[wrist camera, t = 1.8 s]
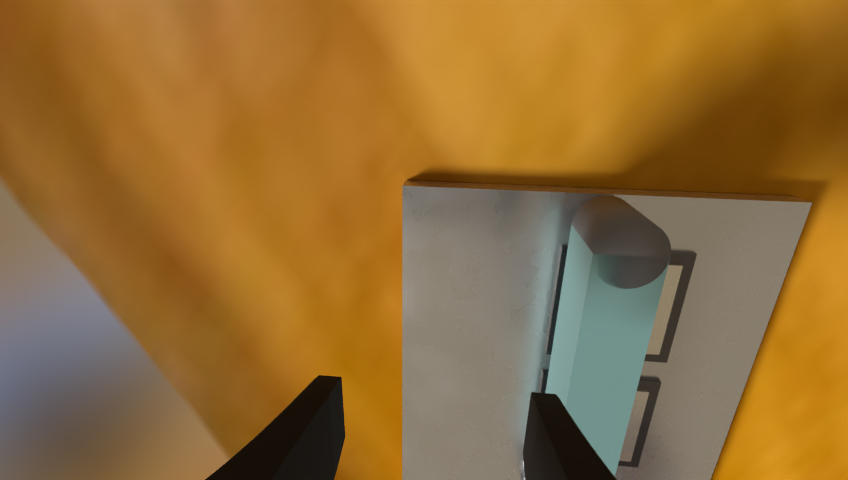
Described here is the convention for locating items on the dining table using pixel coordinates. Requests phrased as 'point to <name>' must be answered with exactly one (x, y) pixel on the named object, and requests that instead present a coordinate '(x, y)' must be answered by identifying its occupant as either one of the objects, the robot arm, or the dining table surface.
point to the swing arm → (606, 318)
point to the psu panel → (537, 314)
